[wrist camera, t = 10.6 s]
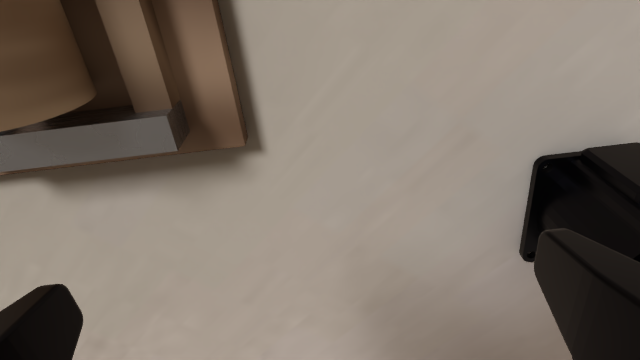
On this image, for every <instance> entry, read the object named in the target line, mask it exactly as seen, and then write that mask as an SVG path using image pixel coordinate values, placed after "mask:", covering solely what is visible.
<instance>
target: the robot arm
mask: <svg viewBox="0 0 640 360" xmlns="http://www.w3.org/2000/svg"><path fill="white" fill-rule="evenodd" d="M546 164H548V166H547V167H546V168H544V169H542V168H543V166H544V165H546ZM529 252H531V253H529ZM519 253H520V255H521V257H522V258H523V259H524V261H527V262H533V261H534V272H535V276H536V278H537V281H538V283H539V285H540V287H541V289H542V292H543V294H544V296H545V298H546V301H547V303H548V305H549V307H550V309H551V312H552V314H553V316H554V318H555V320H556V323H557V325H558V327H559V329H560V332H561V334H562V336H563V338H564V340H565V343H566V345H567V347H568V349H569V351H570V353H571V355H572V358H573V360H640V143H628V144H619V145H611V146H602V147H594V148H587V149H585V150H583V151H580V152H571V153H562V154H554V155H545V156H541V157H540V158H538V159H537V160H536V161H535V162H534V165H533V170H532V176H531V182H530V189H529V195H528V201H527V207H526V213H525V219H524V226H523V232H522V238H521V244H520V250H519ZM528 253H529V254H528ZM82 325H83V315H82V312H81V310H80V308H79V307H78V305H77V303H76V302H75V300H74V298H73V296H72V295H71V293H70V291H69V290H68V288H67V287H66V286H64V285H63V284H53V285H44V286H40V287H37V288H36V289H34V290H33V291H31V292H30V293H28V294H26V295H25V296H23V297H22V298H20V299H19V300H17V301H16V302H14V303H13V304H11V305H10V306H8V307H7V308H5V309H3V310H2V311H0V360H72V358H73V355H74V351H75V348H76V345H77V342H78V339H79V336H80V332H81V329H82Z"/></svg>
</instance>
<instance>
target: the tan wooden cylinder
mask: <svg viewBox="0 0 640 360" xmlns="http://www.w3.org/2000/svg"><path fill="white" fill-rule="evenodd" d="M96 94H97V91H96V89H95V87H94V84H93V82H92V79H91V77H90V74H89V72H88V69H87V67H86V64H85V62H84V59H83V57H82V54H81V52H80V49H79V47H78V44H77V42H76V39H75V37H74V34H73V32H72V29H71V27H70V24H69V22H68V19H67V17H66V14H65V12H64V9H63V7H62V4H61V2H60V0H0V132H1V131H6V130H11V129H15V128H19V127H23V126H27V125H31V124H34V123H37V122H41V121H44V120H47V119H50V118H53V117H56V116H59V115H61V114H64V113H67V112H69V111H72V110H74V109H76V108H78V107H80V106H82V105H84V104H86V103H87V102H89V101H90V100H92V99H93V98H94V97H95V96H96Z"/></svg>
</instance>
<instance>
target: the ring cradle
mask: <svg viewBox="0 0 640 360" xmlns="http://www.w3.org/2000/svg"><path fill="white" fill-rule="evenodd" d="M60 2H61V4H62V7H63V9H64V12H65V14H66V17H67V19H68V22H69V24H70V27H71V29H72V32H73V34H74V37H75V39H76V42H77V44H78V47H79V49H80V52H81V54H82V57H83V59H84V62H85V64H86V67H87V69H88V72H89V74H90V77H91V79H92V82H93V84H94V87H95V89H96V91H97V94H96V96H95V97H94V98H93V99H92V100H90V101H89V102H87V103H86V104H84V105H82V106H80V107H78V108H76V109H74V110H72V111H69V112H67V113H64V114H61V115H59V116H56V117H53V118H50V119H47V120H44V121H41V122H37V123H34V124H31V125H27V126H23V127H19V128H15V129H11V130H6V131H1V132H0V175H5V174H14V173H22V172H30V171H39V170H47V169H56V168H64V167H72V166H81V165H89V164H98V163H106V162H114V161H123V160H131V159H139V158H148V157H156V156H165V155H173V154H181V153H190V152H198V151H207V150H215V149H223V148H232V147H240V146H245V145H246V141H247V138H248V135H247V131H246V126H245V122H244V117H243V113H242V108H241V104H240V99H239V95H238V90H237V86H236V81H235V77H234V72H233V68H232V64H231V59H230V55H229V50H228V46H227V41H226V37H225V32H224V28H223V23H222V19H221V14H220V10H219V5H218V1H217V0H60Z"/></svg>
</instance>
